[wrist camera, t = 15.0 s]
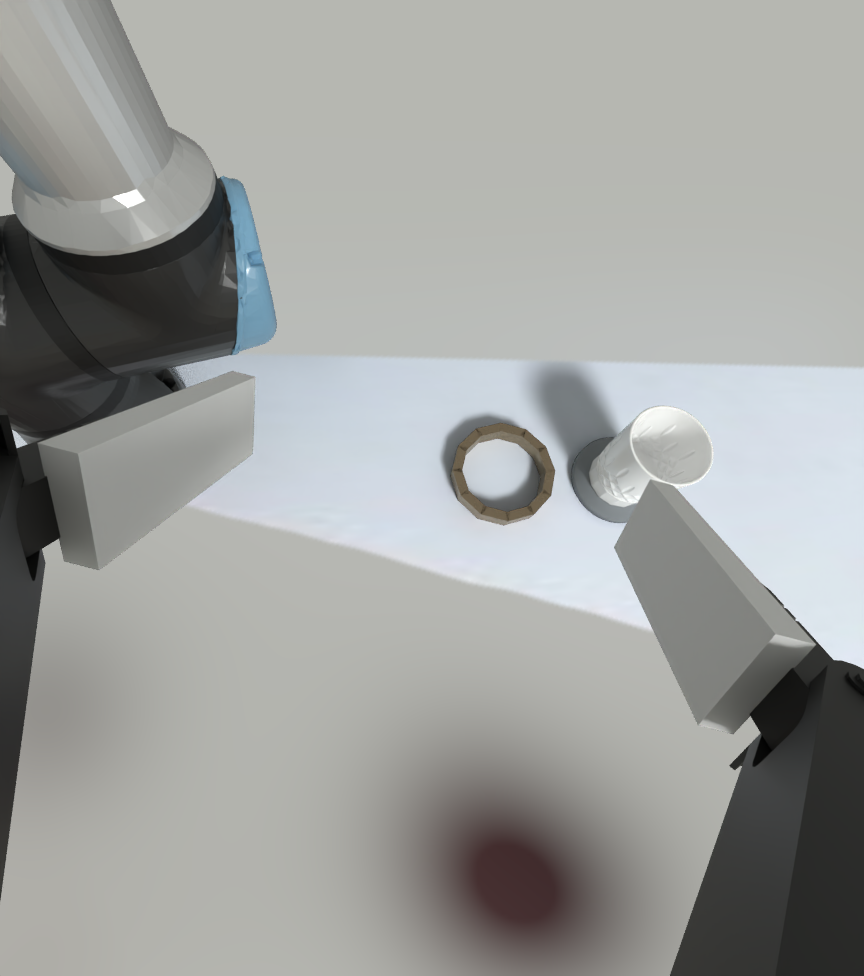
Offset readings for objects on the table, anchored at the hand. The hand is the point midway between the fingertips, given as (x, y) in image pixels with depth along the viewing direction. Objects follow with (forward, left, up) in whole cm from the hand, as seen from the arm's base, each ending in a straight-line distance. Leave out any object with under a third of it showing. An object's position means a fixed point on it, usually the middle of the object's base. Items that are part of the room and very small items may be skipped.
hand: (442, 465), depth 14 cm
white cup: (+20, +16, -31) cm, 40 cm away
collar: (+7, +13, -32) cm, 35 cm away
